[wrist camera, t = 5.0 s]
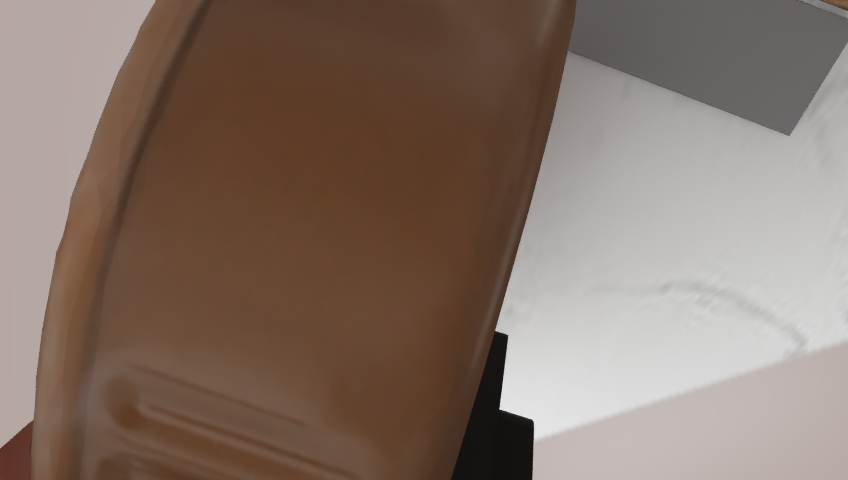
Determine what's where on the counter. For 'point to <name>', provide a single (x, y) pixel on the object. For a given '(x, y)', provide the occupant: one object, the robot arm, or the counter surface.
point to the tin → (295, 239)
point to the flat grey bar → (718, 50)
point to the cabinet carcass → (838, 3)
